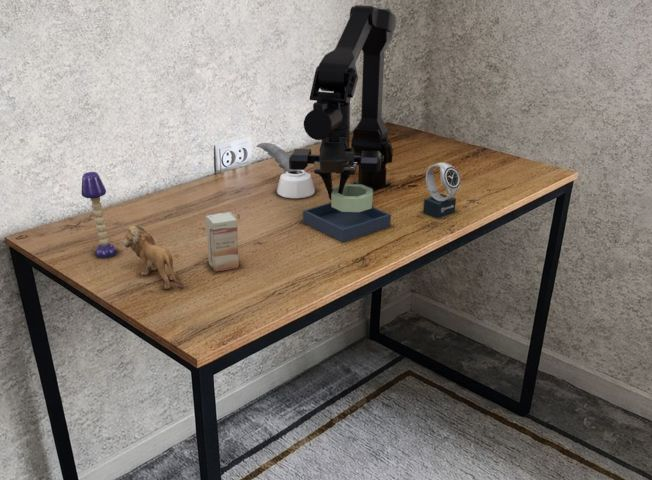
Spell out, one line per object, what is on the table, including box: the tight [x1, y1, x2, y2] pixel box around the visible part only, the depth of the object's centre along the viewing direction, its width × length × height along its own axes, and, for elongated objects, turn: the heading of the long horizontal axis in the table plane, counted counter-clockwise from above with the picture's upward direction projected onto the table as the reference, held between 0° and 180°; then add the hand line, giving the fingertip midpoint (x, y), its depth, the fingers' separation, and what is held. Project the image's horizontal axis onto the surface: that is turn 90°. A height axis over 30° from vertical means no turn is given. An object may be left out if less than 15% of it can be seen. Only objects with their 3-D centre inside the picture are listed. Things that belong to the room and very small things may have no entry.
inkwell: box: [256, 142, 316, 200], centre depth 183 cm, size 9×18×10 cm, turn 48°
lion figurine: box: [120, 225, 185, 290], centre depth 143 cm, size 15×5×9 cm, turn 50°
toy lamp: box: [80, 171, 118, 259], centre depth 151 cm, size 5×5×17 cm
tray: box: [302, 202, 392, 243], centre depth 165 cm, size 14×13×3 cm
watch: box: [422, 161, 462, 219], centre depth 168 cm, size 6×8×11 cm
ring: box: [330, 183, 374, 212], centre depth 163 cm, size 8×8×3 cm
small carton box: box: [205, 211, 240, 272], centre depth 147 cm, size 5×4×10 cm
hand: (335, 199), depth 164 cm, fingers closed on ring
